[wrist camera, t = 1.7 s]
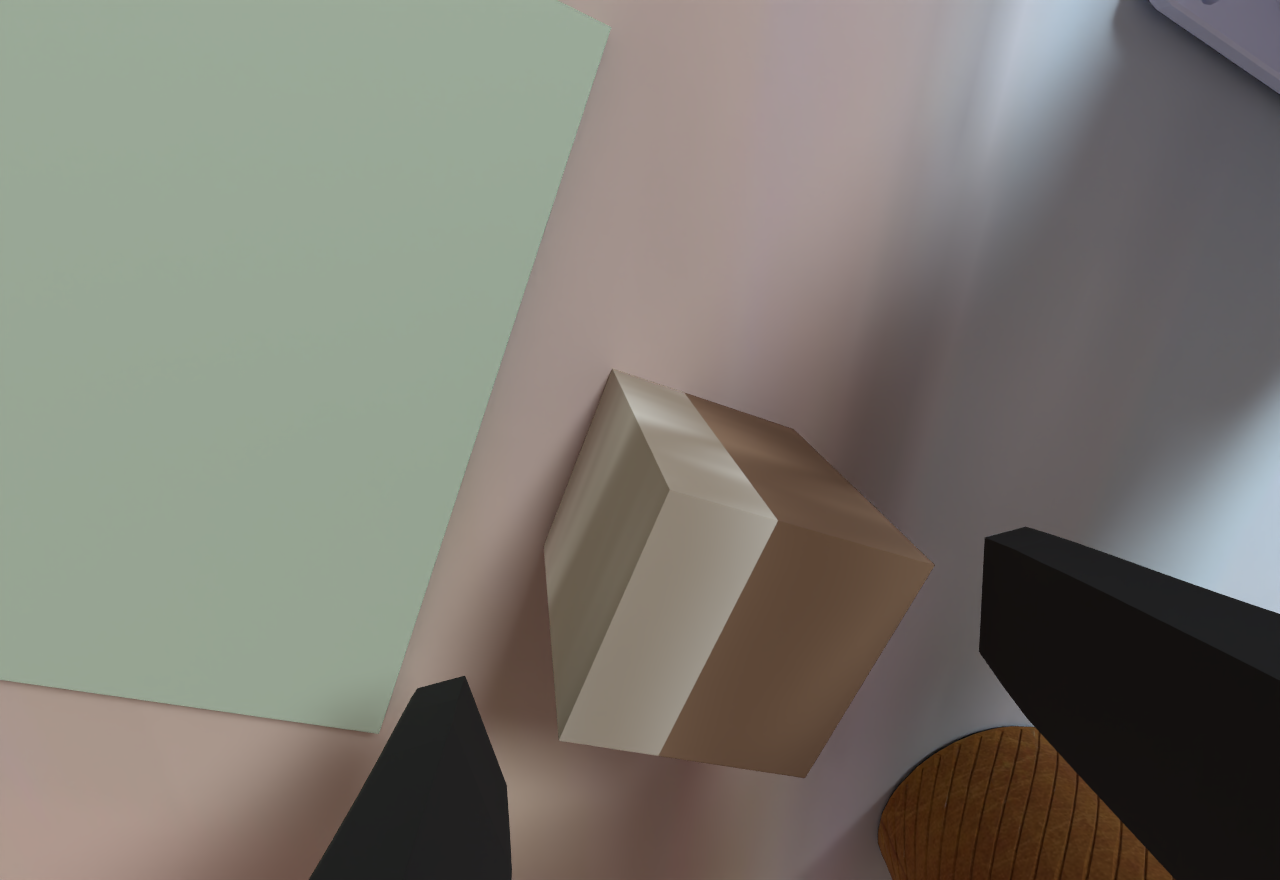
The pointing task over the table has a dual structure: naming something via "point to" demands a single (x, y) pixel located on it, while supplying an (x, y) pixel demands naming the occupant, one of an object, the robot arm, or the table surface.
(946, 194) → the table surface
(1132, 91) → the table surface
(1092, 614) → the robot arm
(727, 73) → the table surface
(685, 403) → the walnut block
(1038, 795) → the disposable coffee cup
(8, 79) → the rubber mat
